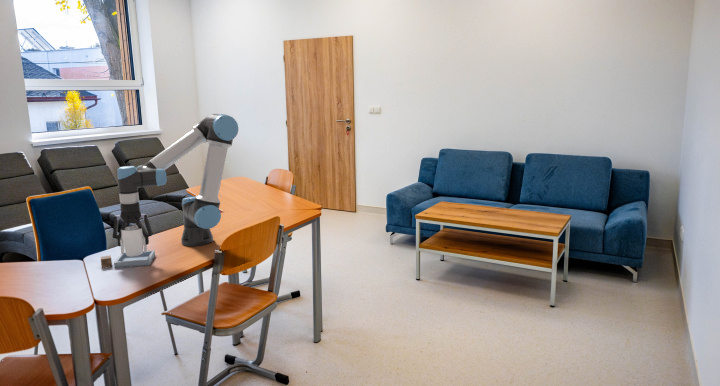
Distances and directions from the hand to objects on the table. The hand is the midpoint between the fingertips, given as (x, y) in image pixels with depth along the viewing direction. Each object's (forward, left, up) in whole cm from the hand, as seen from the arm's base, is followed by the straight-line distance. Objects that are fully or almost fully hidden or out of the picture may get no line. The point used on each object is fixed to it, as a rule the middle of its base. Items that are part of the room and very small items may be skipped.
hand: (134, 252), depth 220 cm
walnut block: (+11, +3, -4) cm, 12 cm away
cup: (0, 0, -1) cm, 1 cm away
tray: (0, 0, -4) cm, 4 cm away
